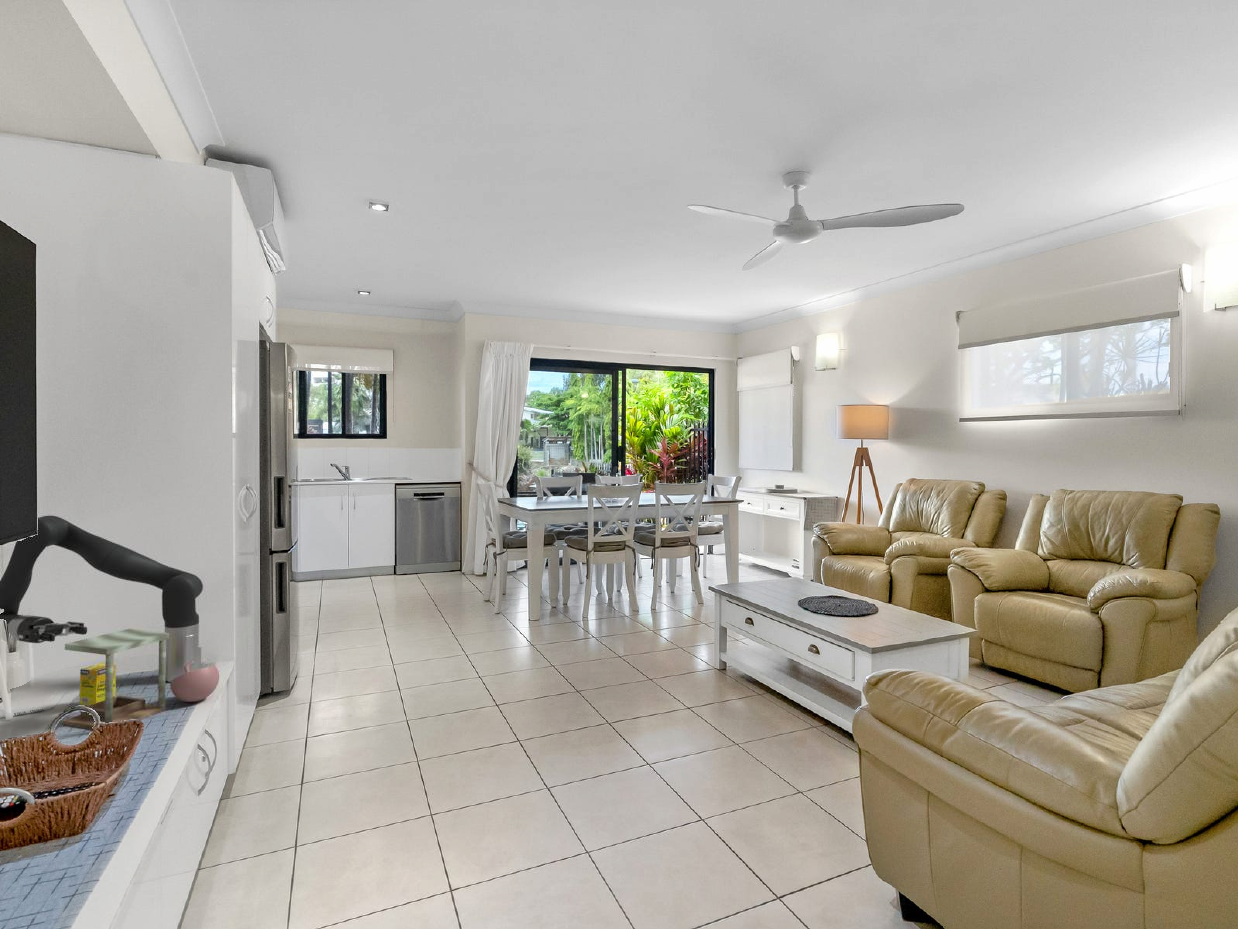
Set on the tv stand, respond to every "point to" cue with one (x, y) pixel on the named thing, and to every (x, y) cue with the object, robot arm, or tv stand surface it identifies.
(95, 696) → the supplement box
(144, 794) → the tv stand surface
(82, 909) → the tv stand surface
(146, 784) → the tv stand surface
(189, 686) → the mortar and pestle
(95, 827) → the tv stand surface
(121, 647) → the small green table
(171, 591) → the robot arm
